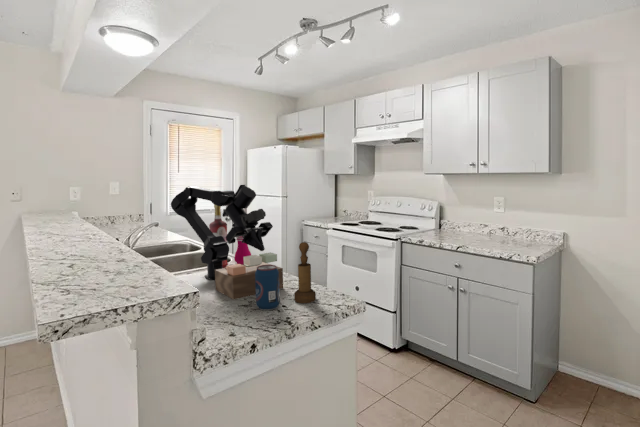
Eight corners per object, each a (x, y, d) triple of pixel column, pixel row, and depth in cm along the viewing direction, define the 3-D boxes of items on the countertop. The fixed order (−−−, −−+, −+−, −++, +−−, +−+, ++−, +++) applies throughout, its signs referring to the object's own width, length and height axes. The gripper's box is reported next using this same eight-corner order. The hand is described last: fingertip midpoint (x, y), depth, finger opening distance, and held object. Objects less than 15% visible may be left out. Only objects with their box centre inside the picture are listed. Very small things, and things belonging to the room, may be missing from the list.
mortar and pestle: (299, 304, 110) (298, 245, 109) (291, 298, 116) (289, 241, 114) (319, 301, 113) (318, 242, 112) (310, 295, 119) (308, 239, 117)
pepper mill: (248, 270, 153) (246, 222, 151) (231, 270, 155) (229, 222, 153) (254, 266, 160) (253, 220, 158) (239, 266, 162) (237, 220, 160)
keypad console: (215, 289, 127) (214, 268, 126) (262, 280, 138) (262, 260, 138) (233, 299, 116) (232, 276, 115) (283, 288, 127) (282, 267, 127)
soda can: (252, 305, 110) (251, 266, 109) (274, 301, 114) (273, 263, 112) (261, 312, 104) (259, 270, 103) (283, 308, 107) (282, 267, 106)
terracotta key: (227, 273, 121) (226, 265, 121) (239, 270, 124) (239, 263, 123) (233, 275, 117) (232, 268, 117) (245, 273, 120) (245, 266, 120)
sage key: (259, 261, 128) (259, 254, 128) (270, 259, 131) (270, 252, 131) (266, 263, 125) (265, 256, 124) (277, 261, 127) (277, 254, 127)
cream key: (243, 263, 124) (243, 256, 124) (255, 261, 127) (255, 254, 127) (250, 266, 121) (249, 258, 121) (261, 263, 124) (261, 256, 123)
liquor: (215, 270, 154) (212, 203, 152) (208, 267, 160) (205, 202, 157) (231, 267, 159) (229, 202, 156) (224, 264, 165) (221, 201, 162)
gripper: (230, 203, 122) (256, 239, 117) (268, 200, 138) (292, 231, 133) (215, 226, 127) (239, 261, 122) (253, 220, 143) (276, 251, 138)
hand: (263, 250), depth 129 cm, fingers closed
